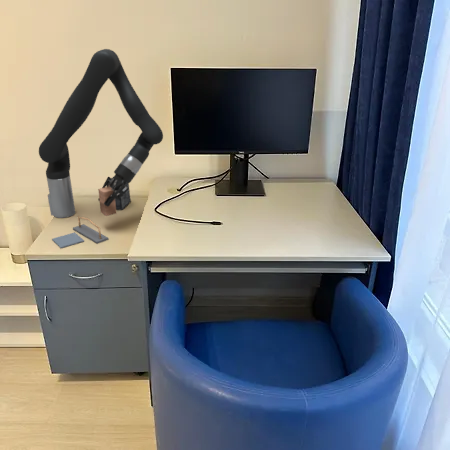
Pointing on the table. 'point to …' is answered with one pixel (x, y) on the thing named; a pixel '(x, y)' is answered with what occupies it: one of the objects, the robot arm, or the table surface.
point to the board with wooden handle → (90, 231)
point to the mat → (68, 240)
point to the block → (103, 196)
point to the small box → (123, 199)
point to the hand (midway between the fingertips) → (103, 203)
